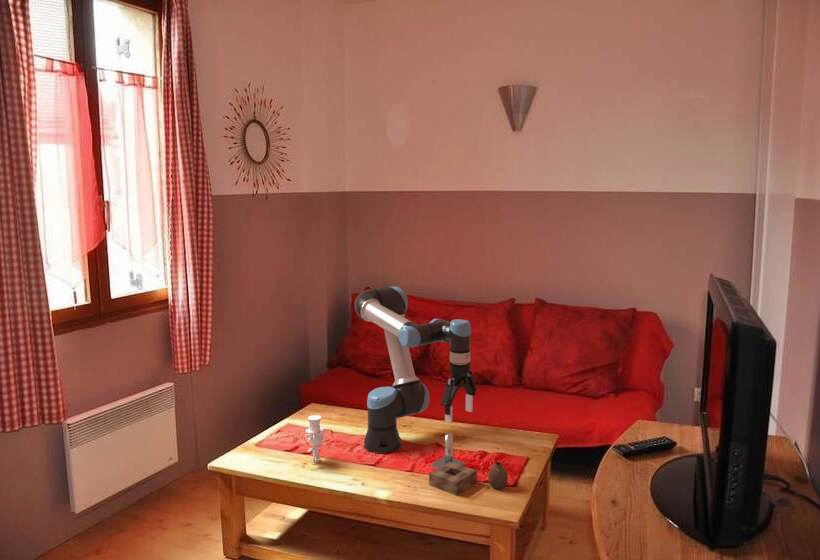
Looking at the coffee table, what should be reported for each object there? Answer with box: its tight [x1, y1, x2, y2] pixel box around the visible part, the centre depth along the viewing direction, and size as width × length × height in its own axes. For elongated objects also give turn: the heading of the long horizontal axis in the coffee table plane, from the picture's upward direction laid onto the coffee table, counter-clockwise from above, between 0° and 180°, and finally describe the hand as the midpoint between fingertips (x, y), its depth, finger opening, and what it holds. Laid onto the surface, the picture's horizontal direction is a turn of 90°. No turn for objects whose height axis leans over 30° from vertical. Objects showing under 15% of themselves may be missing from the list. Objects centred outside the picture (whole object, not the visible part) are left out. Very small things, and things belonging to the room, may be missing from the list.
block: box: [428, 461, 478, 497], centre depth 230 cm, size 12×12×5 cm
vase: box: [487, 461, 509, 490], centre depth 229 cm, size 7×7×9 cm
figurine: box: [303, 414, 326, 464], centre depth 249 cm, size 10×8×18 cm
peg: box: [444, 433, 454, 464], centre depth 244 cm, size 3×3×12 cm
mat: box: [429, 455, 467, 469], centre depth 246 cm, size 10×10×1 cm
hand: (459, 416), depth 242 cm, fingers open, 13 cm apart
